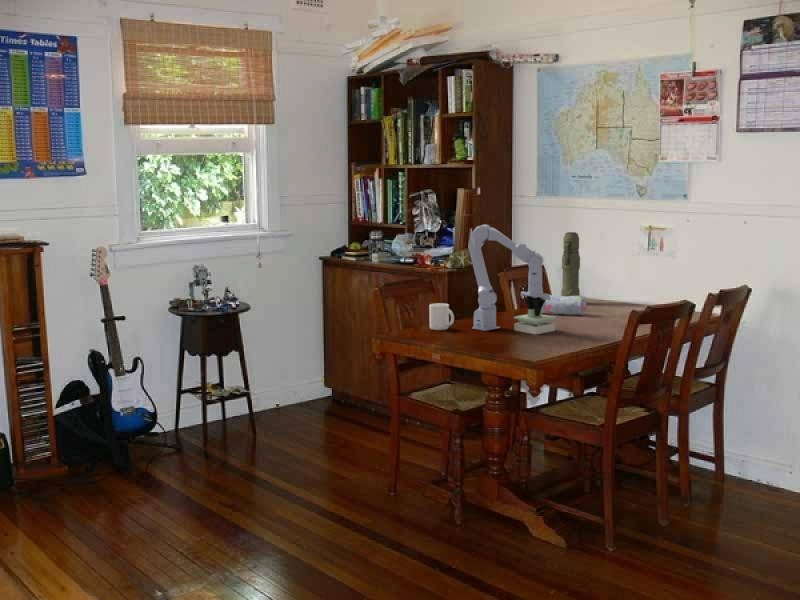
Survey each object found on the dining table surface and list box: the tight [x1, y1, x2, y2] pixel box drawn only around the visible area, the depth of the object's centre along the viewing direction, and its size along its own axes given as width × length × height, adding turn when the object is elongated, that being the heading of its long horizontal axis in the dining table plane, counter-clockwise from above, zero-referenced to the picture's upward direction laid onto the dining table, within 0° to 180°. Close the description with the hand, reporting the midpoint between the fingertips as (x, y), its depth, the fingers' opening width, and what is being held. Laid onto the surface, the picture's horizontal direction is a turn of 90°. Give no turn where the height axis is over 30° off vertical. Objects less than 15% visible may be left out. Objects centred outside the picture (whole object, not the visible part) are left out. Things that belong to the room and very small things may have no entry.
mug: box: [428, 302, 455, 331], centre depth 397 cm, size 12×8×10 cm
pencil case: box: [541, 293, 587, 316], centre depth 429 cm, size 21×9×10 cm, turn 62°
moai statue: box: [560, 231, 581, 296], centre depth 457 cm, size 9×12×35 cm
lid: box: [513, 309, 557, 324], centre depth 390 cm, size 12×12×5 cm
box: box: [513, 321, 556, 335], centre depth 391 cm, size 12×12×3 cm
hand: (534, 315), depth 390 cm, fingers closed on lid, 2 cm apart
